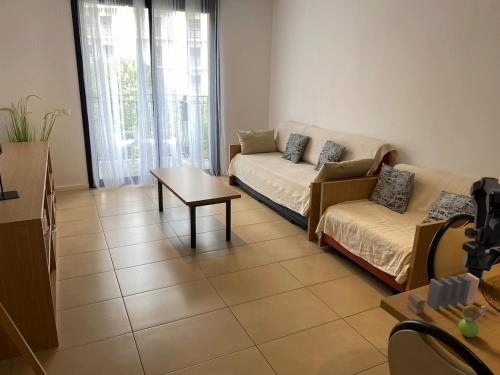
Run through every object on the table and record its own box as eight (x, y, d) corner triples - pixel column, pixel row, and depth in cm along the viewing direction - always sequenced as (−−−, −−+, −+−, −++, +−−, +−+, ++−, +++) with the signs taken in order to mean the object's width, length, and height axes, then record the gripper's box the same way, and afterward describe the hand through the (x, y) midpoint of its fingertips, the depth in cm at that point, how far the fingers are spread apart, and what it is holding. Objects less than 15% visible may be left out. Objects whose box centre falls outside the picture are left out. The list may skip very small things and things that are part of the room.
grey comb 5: (429, 302, 132) (433, 278, 129) (438, 309, 128) (443, 285, 125) (426, 303, 132) (430, 279, 129) (435, 310, 128) (440, 286, 125)
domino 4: (455, 297, 135) (460, 274, 132) (465, 304, 131) (470, 280, 128) (452, 298, 135) (457, 274, 132) (462, 305, 131) (467, 281, 128)
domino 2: (438, 300, 133) (443, 277, 130) (447, 308, 129) (452, 283, 126) (435, 301, 133) (439, 277, 130) (444, 308, 129) (449, 284, 126)
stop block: (414, 305, 130) (416, 292, 129) (423, 312, 126) (425, 300, 125) (406, 306, 130) (408, 294, 128) (415, 314, 126) (417, 301, 124)
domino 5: (464, 296, 136) (469, 272, 133) (474, 303, 132) (479, 279, 129) (461, 296, 136) (466, 273, 133) (471, 303, 132) (476, 279, 129)
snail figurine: (483, 342, 113) (491, 308, 109) (460, 339, 114) (467, 305, 110) (476, 331, 118) (484, 297, 114) (454, 328, 119) (461, 295, 115)
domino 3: (447, 299, 134) (451, 275, 131) (456, 306, 130) (461, 282, 127) (444, 299, 134) (448, 276, 131) (453, 307, 130) (458, 282, 127)
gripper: (495, 215, 137) (486, 254, 142) (453, 220, 132) (445, 260, 137) (524, 227, 127) (513, 268, 132) (480, 233, 122) (471, 276, 126)
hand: (485, 268), depth 132 cm, fingers open, 3 cm apart
